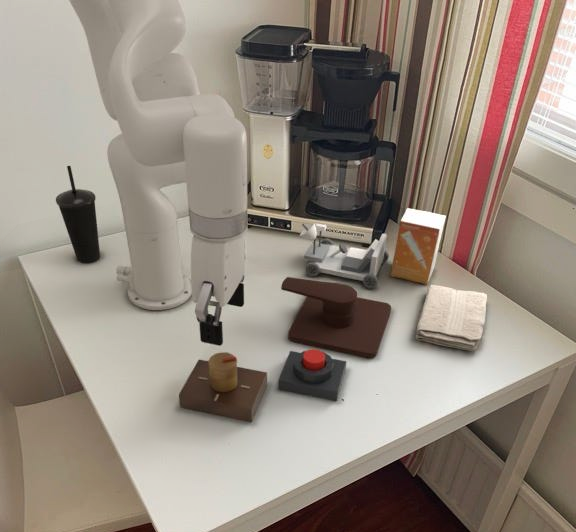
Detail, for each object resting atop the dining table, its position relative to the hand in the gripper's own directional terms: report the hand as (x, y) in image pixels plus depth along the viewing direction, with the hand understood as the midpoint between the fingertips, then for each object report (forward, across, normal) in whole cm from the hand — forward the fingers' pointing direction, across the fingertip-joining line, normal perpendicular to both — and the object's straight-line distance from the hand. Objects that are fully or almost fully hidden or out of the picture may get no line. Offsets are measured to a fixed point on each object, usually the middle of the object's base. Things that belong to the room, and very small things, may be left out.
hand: (223, 322), depth 91 cm
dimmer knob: (+12, +1, 0) cm, 12 cm away
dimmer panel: (+15, +1, 0) cm, 15 cm away
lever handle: (+15, -24, +13) cm, 31 cm away
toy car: (+15, -44, +11) cm, 48 cm away
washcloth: (+15, -32, +35) cm, 49 cm away
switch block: (+15, -7, +13) cm, 21 cm away
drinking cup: (+16, -32, -42) cm, 55 cm away
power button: (+11, -7, +13) cm, 18 cm away
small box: (+15, -46, +26) cm, 55 cm away
